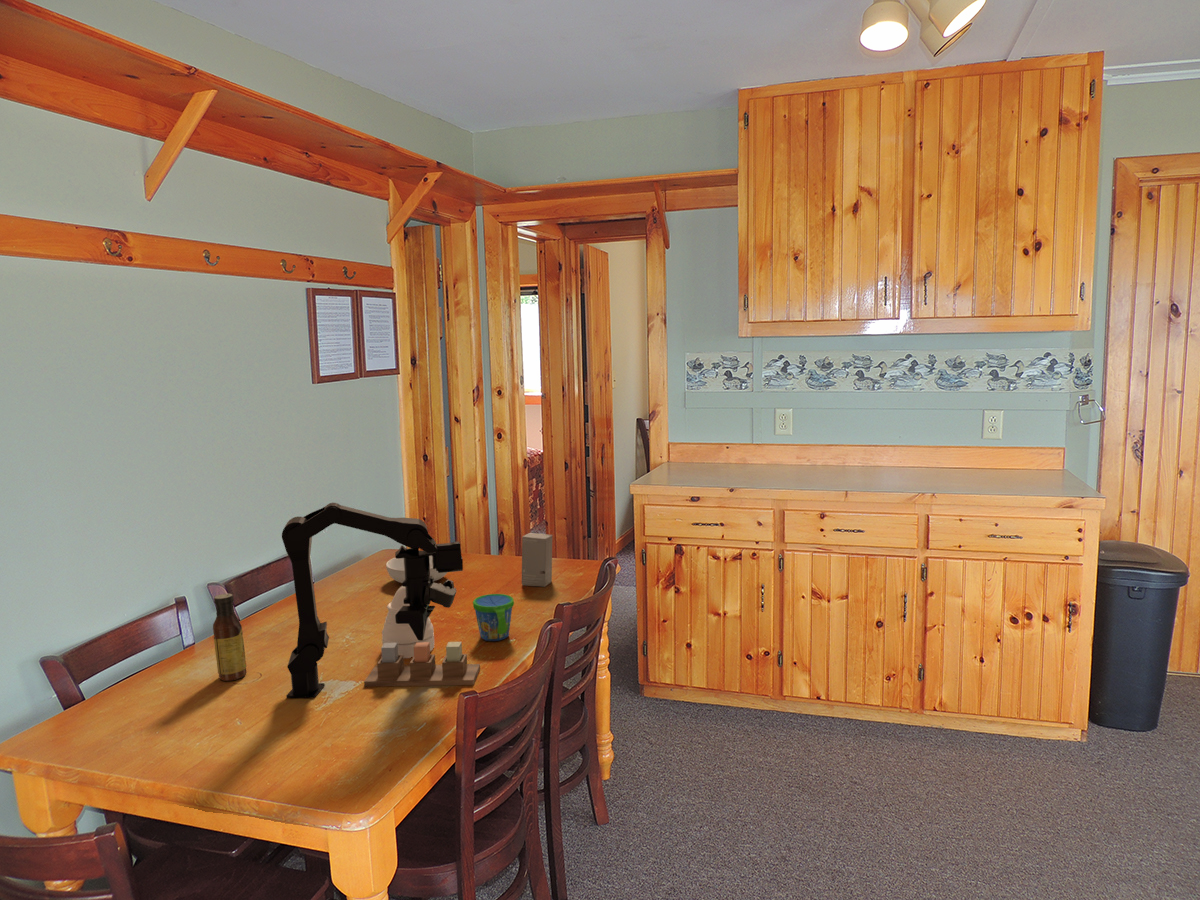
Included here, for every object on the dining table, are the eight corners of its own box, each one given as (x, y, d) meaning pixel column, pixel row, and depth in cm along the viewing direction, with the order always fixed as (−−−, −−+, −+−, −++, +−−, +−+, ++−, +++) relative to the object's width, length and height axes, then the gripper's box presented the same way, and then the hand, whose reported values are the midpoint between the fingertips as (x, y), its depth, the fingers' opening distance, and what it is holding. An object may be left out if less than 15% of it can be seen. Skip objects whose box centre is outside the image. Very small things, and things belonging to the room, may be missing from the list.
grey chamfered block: (395, 667, 187) (394, 647, 187) (382, 667, 188) (381, 647, 187) (398, 662, 190) (397, 642, 190) (386, 662, 190) (384, 642, 190)
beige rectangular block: (460, 666, 187) (459, 646, 186) (447, 666, 187) (446, 646, 186) (462, 661, 190) (461, 641, 189) (449, 661, 190) (448, 641, 189)
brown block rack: (473, 685, 184) (472, 665, 184) (364, 686, 185) (363, 667, 184) (480, 668, 193) (479, 650, 193) (375, 670, 194) (374, 651, 193)
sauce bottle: (252, 674, 193) (245, 594, 190) (229, 684, 188) (221, 601, 185) (235, 669, 197) (228, 590, 194) (211, 678, 191) (204, 597, 188)
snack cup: (520, 644, 208) (519, 606, 206) (479, 650, 205) (477, 611, 203) (509, 624, 223) (507, 588, 221) (470, 629, 220) (468, 593, 218)
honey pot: (443, 641, 212) (439, 574, 209) (419, 660, 199) (415, 589, 197) (399, 637, 215) (395, 571, 213) (373, 656, 203) (368, 586, 200)
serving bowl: (385, 575, 272) (384, 555, 271) (448, 568, 278) (447, 549, 277) (388, 594, 252) (387, 572, 251) (456, 586, 258) (455, 565, 257)
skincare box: (521, 585, 257) (519, 537, 255) (529, 579, 264) (528, 531, 261) (546, 587, 254) (544, 538, 252) (554, 580, 261) (552, 532, 259)
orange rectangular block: (427, 666, 187) (426, 647, 187) (414, 667, 187) (413, 647, 187) (430, 661, 190) (429, 642, 190) (417, 661, 190) (416, 642, 190)
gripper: (443, 586, 176) (447, 655, 178) (460, 562, 195) (463, 625, 197) (392, 587, 177) (396, 655, 179) (414, 563, 195) (417, 625, 197)
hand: (420, 639), depth 188 cm, fingers closed
